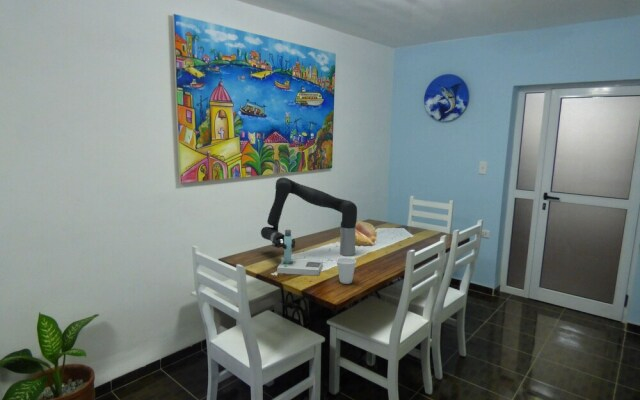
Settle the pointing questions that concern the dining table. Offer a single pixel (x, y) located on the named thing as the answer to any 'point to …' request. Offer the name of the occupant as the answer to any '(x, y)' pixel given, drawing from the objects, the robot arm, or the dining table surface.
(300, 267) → the panel
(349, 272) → the cup
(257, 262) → the dining table surface
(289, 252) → the plug
